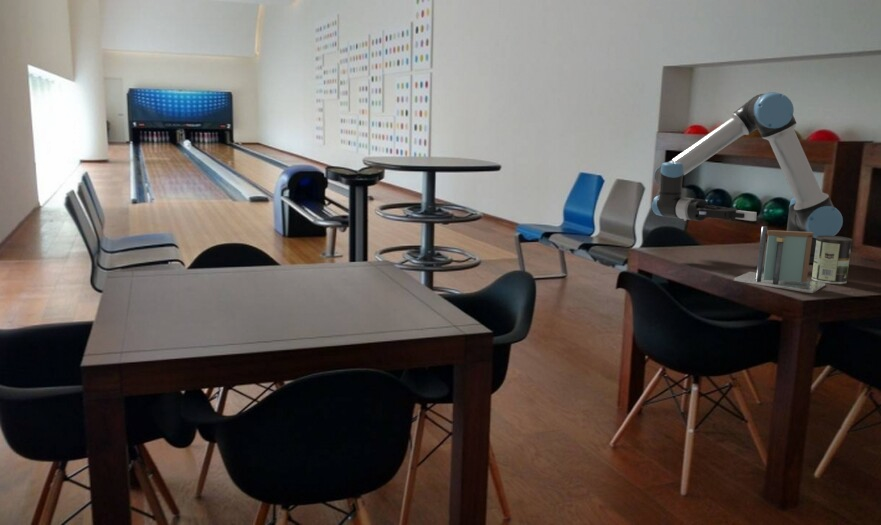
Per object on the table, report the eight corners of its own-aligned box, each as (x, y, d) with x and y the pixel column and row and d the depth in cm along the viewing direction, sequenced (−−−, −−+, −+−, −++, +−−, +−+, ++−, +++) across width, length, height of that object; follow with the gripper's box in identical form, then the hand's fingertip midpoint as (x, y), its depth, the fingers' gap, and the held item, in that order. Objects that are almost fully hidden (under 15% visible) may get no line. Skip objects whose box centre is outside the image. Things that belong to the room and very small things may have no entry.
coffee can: (840, 278, 243) (846, 236, 240) (851, 285, 233) (857, 241, 230) (807, 276, 245) (812, 234, 242) (816, 283, 235) (821, 239, 232)
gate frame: (812, 293, 220) (820, 233, 217) (733, 280, 235) (740, 224, 231) (824, 285, 231) (832, 228, 228) (749, 273, 246) (755, 220, 242)
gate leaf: (763, 280, 230) (769, 230, 227) (761, 278, 231) (767, 230, 228) (807, 282, 228) (813, 233, 225) (805, 281, 230) (811, 232, 227)
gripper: (703, 218, 261) (765, 226, 242) (680, 221, 254) (742, 230, 235) (705, 197, 260) (767, 203, 241) (681, 199, 252) (744, 206, 233)
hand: (755, 216), depth 238 cm, fingers closed
